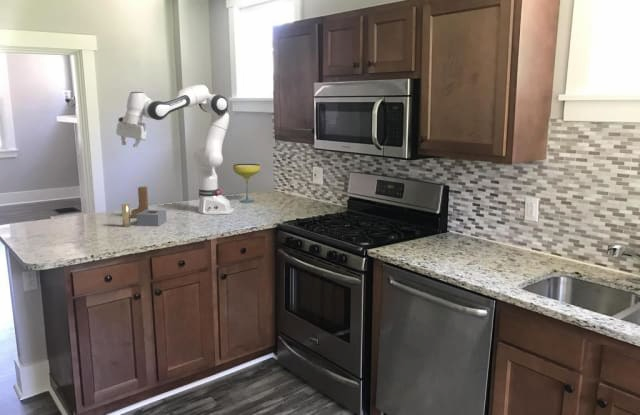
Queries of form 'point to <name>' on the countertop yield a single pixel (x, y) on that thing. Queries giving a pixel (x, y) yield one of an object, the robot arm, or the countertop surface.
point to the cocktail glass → (246, 175)
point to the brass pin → (126, 215)
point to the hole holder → (151, 218)
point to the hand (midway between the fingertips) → (129, 146)
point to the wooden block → (141, 202)
